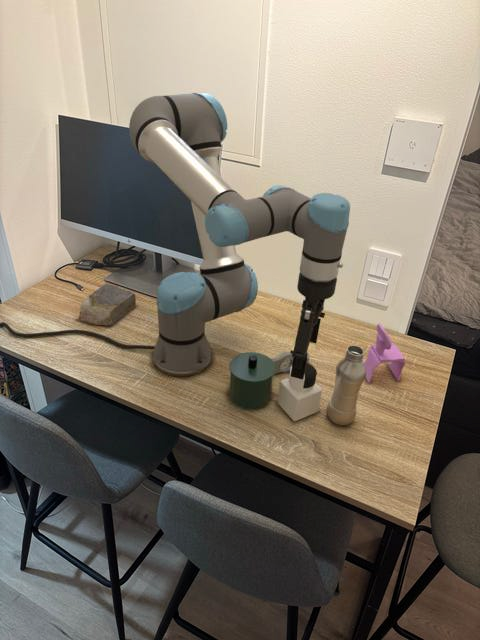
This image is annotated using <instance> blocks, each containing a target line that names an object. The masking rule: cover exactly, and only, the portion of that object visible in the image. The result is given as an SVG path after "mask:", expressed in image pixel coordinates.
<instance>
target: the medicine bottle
mask: <svg viewBox="0 0 480 640" xmlns="http://www.w3.org/2000/svg"><path fill="white" fill-rule="evenodd" d="M291 370H292V366H291V368H290V370H289V374H288V377H287V378H285V379H282V380H280V381H279V387H278V395H277V404H278V405H279V406H280V408H282V410H283V411H284V412H285V414H287V415H288V416H289V418H291V420H292V421H294V422H297V421H299V420H302V419H304V418H307V417H309V416H312V415H314V414H316V413H318V412H319V408H320V403H321V399H322V395H323V394H322V393H323V389H322V388H321V386H319V384H317V383H316V381H317V376H318V371H317V369H316V368H315V366H314V365H313V364H310V363H306V368H305V373H304V378H303V380H302V379H298V378H294V377H291Z"/></svg>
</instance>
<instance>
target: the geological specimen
mask: <svg viewBox="0 0 480 640" xmlns="http://www.w3.org/2000/svg"><path fill="white" fill-rule="evenodd" d="M136 300H137V299H136V294H135V292H132V291H130V290H126V289H123V288H122V287H119V286H116V285H112V284H110V283H108V282H107V283H104V284H103V285H101V286H100V287H98V289H96V290H95V291H93V292H92V293H90V294H89V295H88V296H87V295H86V296H85V298H84V299H83V301H82V302H81V305H80V307H79V313H78V319H79V320H80V321H81V322H83V323H88V324H90V325H92V324H94V325H96V326H107V327H108V326H110V327H112V326H113V325H114V324H116V323H117V322H118V321H119V320H121V319H122V318H124V317H125V316H126V315H127V314H128V313H129V312H131V311H132V310H133V309H135V307H136V305H137V301H136Z"/></svg>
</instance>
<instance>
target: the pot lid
mask: <svg viewBox="0 0 480 640" xmlns="http://www.w3.org/2000/svg"><path fill="white" fill-rule="evenodd" d="M270 358H271V357H269V356H267V354H263V353H260V352H255V351H245V352H241V353H238V354H236V355H234V356H233V357H232V358H231V360H230V361H229V366H228V367H229V368H228V369H229V371H230V372H231V373H232V375H233V376H234V377H236V378H237V379H239V380H241V381H244V382H249V383H259V382H264V381H266V380H268V379H270V378H271V377H272V376H273V377H274V375H275V374H274V373H275V364H274V362H273V361H272V360H271V359H270ZM230 372H229V373H230Z"/></svg>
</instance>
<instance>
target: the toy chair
mask: <svg viewBox="0 0 480 640" xmlns="http://www.w3.org/2000/svg"><path fill="white" fill-rule="evenodd" d="M376 332H377V333H376V340H375V341H376V342H375V343H374V344H371V345H370V346H371V347H369V349H368V352H367V356H366V360H365V361H364V362H363V363H364V365H365V367H366V376H365V379H366V381H367V382H368V383H371V380H372V376H373V374H374V371H375V370H376V368H377V367H379V366H380V365H381V364H385V363H389V364H388V367H389V369H390V372H391V373H392V374H393V375H394V377H395V379H396V380H397V381H398V382H399V381H400V380H401V377H402V376H401V375H402V373H403V370H404V368H405V365H406V358H405V356H404V355H403V353H402V352H401V350H400V349H399V347H398V346H397V344H396V343H392V340H391V338H390V336H389V334H388V332H387V331H386V329H385V327H383V325H382V323H377V324H376Z"/></svg>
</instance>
